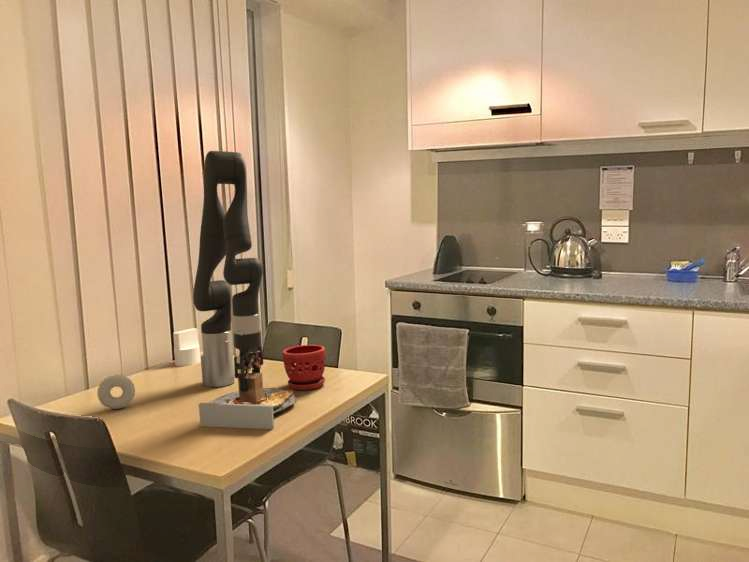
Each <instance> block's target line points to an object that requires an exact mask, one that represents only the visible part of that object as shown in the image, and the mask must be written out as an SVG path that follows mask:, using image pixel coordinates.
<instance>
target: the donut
mask: <svg viewBox="0 0 749 562" xmlns="http://www.w3.org/2000/svg"><path fill="white" fill-rule="evenodd" d="M116 387H117V388H120V389H121V390H122V393H121V395H119V396H113V395H112V394H111V391H112V389H113V388H116ZM135 395H136V388H135V384H134V383H133V381H132V380H131V379H130V378H128V377H127V376H125V375H122V374H113V375H110V376H108V377H106V378H105V379H103V380H102V381H101V382H100V384H99V386H98V387H97V397H98V400H99V402H100V403H101V405H102V406H104V407H106V408H108V409H112V410H119V409H122V408H123V409H124V408H125V407H126V406H128V405H130V403H132V401H133V399H134V397H135Z"/></svg>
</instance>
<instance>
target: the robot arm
mask: <svg viewBox="0 0 749 562" xmlns="http://www.w3.org/2000/svg"><path fill="white" fill-rule="evenodd" d="M203 169H204V171H203V203H202V204H203V205H202V214H201V215H202V216H201V225H200V233H199V247H198V250H199V252H198V260H197V269H196V273H195V274H196V275H195V279H194V280H195V281H194V284H193V290H192V291H193V293H192V295H193V298H192V299H193V305H194V308H195V309H196V310H197V311H199V312H210V311H215V313H214V314H213V315H212V316H210V318H208V319H206V320H205V321H203V322H202V323H201V325H200V332H201V333H200V334H201V343H202V344H201V345H202V355H200V360H201V362H200V367H201V379H202V380H201V381H202V385H203V386H205V387H210V388H220V387H221V388H222V387H226V386H227V387H228V386H230V385H233V384H234V383H235V381H236V380H235V379H238V378H239V380H240V391H241V392H247V391H248V390H249V387H248V373H250V372H251V373H261V369H262V366H263V365H264V354H263V346H262V344H263V343H262V328H261V326H262V325H261V318H260V309H259V292H260V287H261V282H262V279H263V278H262V277H263V272H264V267H263V264H262V262H261V260H259V259H258V258H256V257H246V258H245V257H244V258H236V256H237V255H240V254H243V253H247V252H248V251H250V250H251V249H252V246H253V245H252V244H253V243H252V242H253V241H252V235H251V231H250V224H249V215H248V181H247V180H248V179H247V165H246V160H245V157H244V156H243V154H242V153H241V152H236V151H224V150H209V151H208V152H207V153H206V155H205V157H204V168H203ZM218 185H233V186H234V195H233V198H232V201H231V203H230V205H229V207H228V209H227V210H225V208H224V207H223V205H222V202H221V200H220V197H219V195H218V194H219V193H218ZM224 258H225V261H224V265H223V279H224V280H223V279H222V280H212V277H213V275H214V272H215V271H216V269H217V267H218V266H219V264H221V262H222V261H223V260H224ZM229 285H231V286H237V285H238V286H239V285H248V287H247V289H245V290H243V291H241V292H237V293H235V294H233V295H232V294H231V288H230V287H231V286H229ZM232 335H233V338H232ZM233 346H234V348H235V349H238V350H239V355H236V356H234V353H233Z"/></svg>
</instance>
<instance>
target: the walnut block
mask: <svg viewBox="0 0 749 562" xmlns="http://www.w3.org/2000/svg"><path fill="white" fill-rule="evenodd" d="M237 385H238V391H239V399H240V402H249V403H257V402H258V401H259V400H260V399H262V398H263V397H264V395H263V388H264V383H263V372H260V373H252V372H249V373H248V387H249V390H248V391H247V392H241V391H240V380H239V378H237Z"/></svg>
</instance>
